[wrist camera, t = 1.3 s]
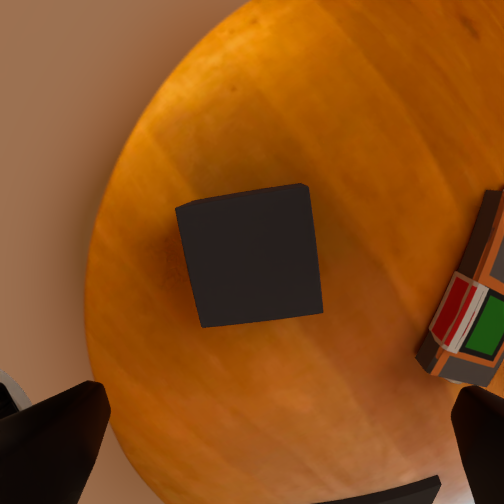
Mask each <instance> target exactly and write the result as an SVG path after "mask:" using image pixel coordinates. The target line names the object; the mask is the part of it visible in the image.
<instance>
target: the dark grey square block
mask: <svg viewBox="0 0 504 504" xmlns="http://www.w3.org/2000/svg"><path fill="white" fill-rule="evenodd" d="M175 211H176V216H177V221H178V226H179V231H180V236H181V241H182V246H183V250H184V255H185V260H186V264H187V269H188V273H189V277H190V282H191V286H192V290H193V295H194V299H195V303H196V307H197V311H198V315H199V319H200V323H201V327H202V328H206V327H216V326H226V325H235V324H244V323H253V322H261V321H269V320H277V319H284V318H292V317H299V316H306V315H313V314H319V313H323V303H322V292H321V282H320V273H319V264H318V255H317V246H316V238H315V230H314V222H313V215H312V207H311V200H310V193H309V187H308V186H306V185H304V184H302V183H298V184H291V185H284V186H278V187H271V188H264V189H258V190H252V191H246V192H240V193H234V194H228V195H222V196H216V197H211V198H205V199H199V200H194V201H191V202H189V203H186V204H184V205H181V206H179V207H176V208H175Z"/></svg>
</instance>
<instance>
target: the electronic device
mask: <svg viewBox="0 0 504 504" xmlns="http://www.w3.org/2000/svg"><path fill="white" fill-rule="evenodd" d="M429 330H430V331H429V333H428V335H427V337H426V339H425V340H424V342H423V344H422V346H421V348H420V349H419V351H418V353H417V355H416V357H415V358H416V360H417V361H418V362H419V364H420V365H421V366H422V368H423V369H424V370H425V371H426V372H427V373H429V374H430V375H434V376H439V377H443V378H445V379H446V380H448V381H449V382H452V383H457V384H461V383H463V382H464V383H469V384H473V385H478V386H483V387H487V386H488V385H489V383H490V381H491V380H492V378H493V376H494V375H495V373H496V371H497V370H498V368H499V366H500V365H501V363H502V361H503V359H504V189H503V191H494V190H486V192H485V195H484V199H483V202H482V205H481V208H480V212H479V215H478V218H477V221H476V224H475V227H474V230H473V232H472V235H471V238H470V241H469V243H468V246H467V249H466V251H465V254H464V257H463V259H462V262H461V264H460V266H459V269H458V271H454V274H453V276H452V278H451V281H450V283H449V285H448V288H447V290H446V292H445V294H444V297H443V299H442V301H441V303H440V305H439V307H438V309H437V312H436V314H435V316H434V318H433V320H432V322H431V324H430V326H429Z"/></svg>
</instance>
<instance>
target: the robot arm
mask: <svg viewBox="0 0 504 504" xmlns="http://www.w3.org/2000/svg"><path fill="white" fill-rule="evenodd" d="M110 414H111V408H110V404H109V401H108V397H107V394H106V391H105V388H104V386H103V384H101V383H99V382H95V381H85V382H83V383H81V384H79V385H76V386H75V387H72V388H70V389H68V390H66V391H64V392H62V393H59V394H57V395H55V396H53V397H50V398H48V399H46V400H44V401H42V402H39V403H37V404H35V405H33V406H30V407H28V408H26V409H24V410H21V411H19V409H18V408H17V406H16V404H15V402H14V401H13V399H12V397H11V395H10V393H9V392H8V390H7V388H6V386H5V385H4V384H3V383H1V382H0V504H77V503H78V501H79V499H80V496H81V494H82V492H83V489H84V487H85V485H86V482H87V480H88V477H89V476H90V473H91V471H92V469H93V466H94V464H95V461H96V459H97V456H98V452H99V449H100V446H101V443H102V439H103V437H104V433H105V430H106V427H107V424H108V421H109V418H110ZM451 421H452V425H453V428H454V432H455V436H456V440H457V444H458V448H459V452H460V456H461V460H462V464H463V467H464V470H465V473H466V476H467V479H468V482H469V485H470V488H471V492H472V495H473V498H474V501H475V504H504V399H503V398H501V397H499V396H497V395H495V394H493V393H491V392H489V391H487V390H485V389H483V388H481V387H479V386H477V385H472V386H467V387H463V388H462V389H461V390H460V392H459V395H458V397H457V399H456V402H455V404H454V406H453V409H452V411H451Z"/></svg>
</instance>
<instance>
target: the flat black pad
mask: <svg viewBox="0 0 504 504" xmlns="http://www.w3.org/2000/svg"><path fill="white" fill-rule="evenodd" d="M441 485H442V484H441V482H440V479H439V477H438V475H436V476H433V477H431V478H428V479H424V480H421V481H418V482H415V483H412V484H408V485H405V486H401V487H398V488H394V489H390V490H386V491H382V492H378V493H373V494H369V495H364V496H359V497H354V498H349V499H343V500H337V501H331V502H324V503H317V504H432V503H433V501H434V499H435V497H436V495H437V493H438V491H439V489H440V487H441Z"/></svg>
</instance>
